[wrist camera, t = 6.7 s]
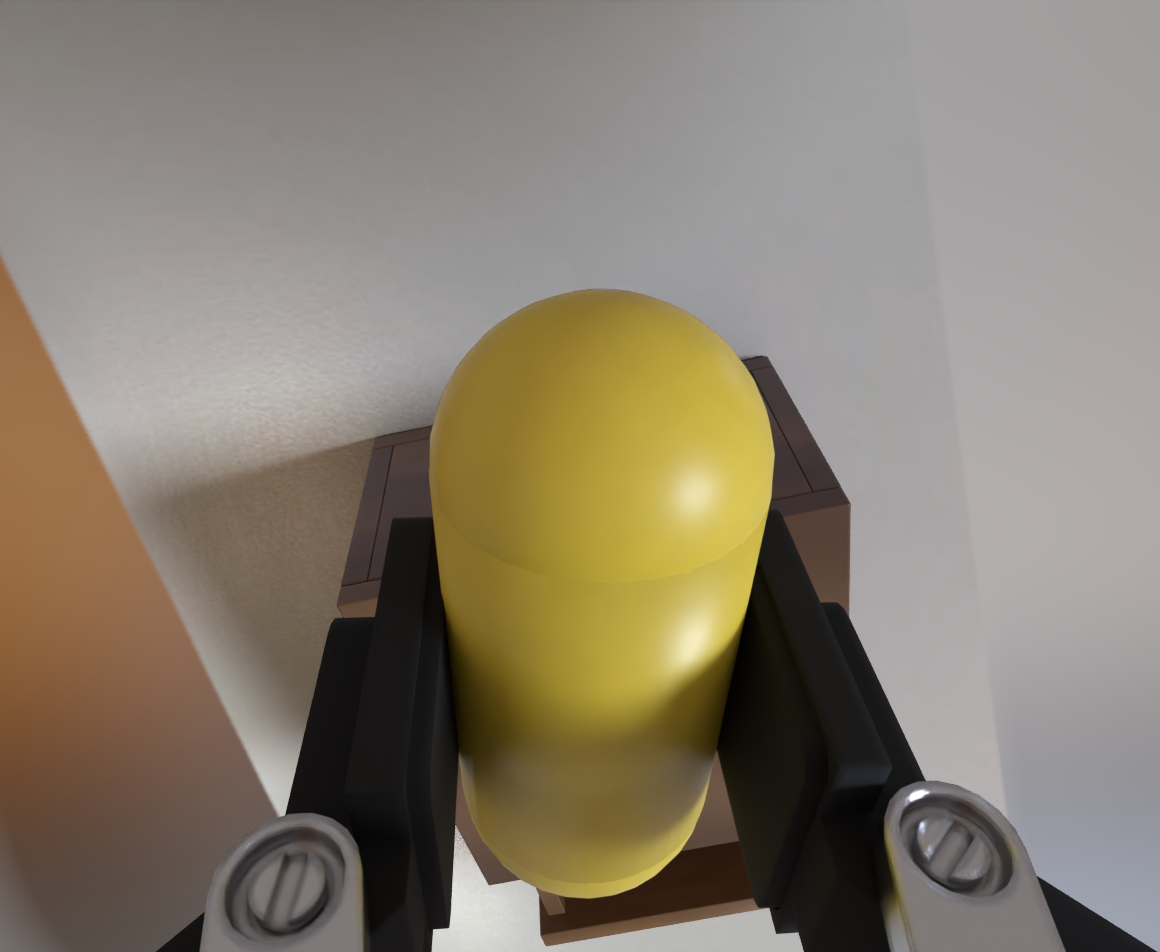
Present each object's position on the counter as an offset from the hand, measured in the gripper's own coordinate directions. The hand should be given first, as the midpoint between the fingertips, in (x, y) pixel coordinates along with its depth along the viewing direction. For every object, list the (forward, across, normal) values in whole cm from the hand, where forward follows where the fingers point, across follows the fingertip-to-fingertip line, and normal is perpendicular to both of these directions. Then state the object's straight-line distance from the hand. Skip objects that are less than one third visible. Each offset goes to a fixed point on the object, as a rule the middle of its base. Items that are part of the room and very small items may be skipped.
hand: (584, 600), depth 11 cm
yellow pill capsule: (+1, -1, 0) cm, 1 cm away
